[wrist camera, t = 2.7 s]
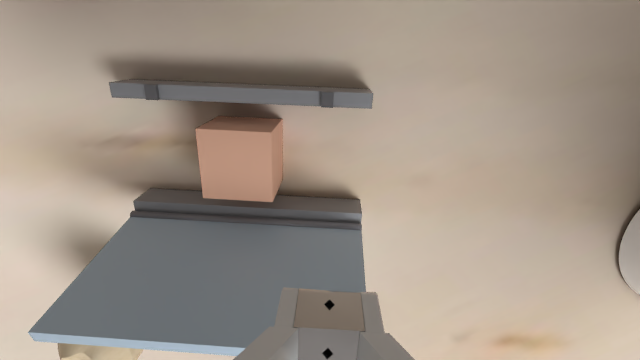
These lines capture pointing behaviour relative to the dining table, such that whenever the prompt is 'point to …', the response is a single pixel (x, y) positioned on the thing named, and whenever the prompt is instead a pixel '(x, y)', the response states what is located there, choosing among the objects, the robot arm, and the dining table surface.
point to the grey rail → (258, 95)
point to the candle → (96, 352)
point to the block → (240, 158)
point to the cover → (199, 281)
